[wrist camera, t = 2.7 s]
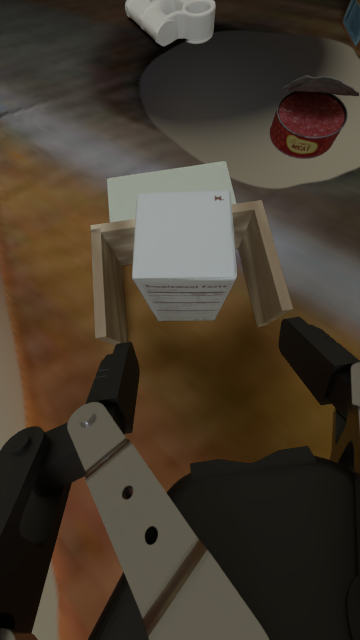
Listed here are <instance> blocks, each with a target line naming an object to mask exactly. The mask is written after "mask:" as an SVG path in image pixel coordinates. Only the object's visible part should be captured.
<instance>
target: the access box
mask: <svg viewBox="0 0 360 640" xmlns="http://www.w3.org/2000/svg"><path fill="white" fill-rule="evenodd" d="M232 216H233V227H234V244H235V249H239V254H240V258H241V262H242V266H243V270H244V274H245V279H246V283H247V287H248V291H249V295H250V299H251V304H252V308H253V312H254V316H255V320H256V324H257V327H261V326H266V325H268V324H269V323H271V322H273V321H274V320H276V319H278V318H279V317H281V316H282V315H284V314H286V313H287V312H289V311H291V310H292V309H293V306H292V303H291V300H290V296H289V293H288V289H287V286H286V282H285V279H284V276H283V272H282V269H281V265H280V262H279V258H278V255H277V252H276V248H275V245H274V241H273V238H272V234H271V231H270V227H269V224H268V221H267V217H266V214H265V210H264V207H263V203H262V200H259V201H252V202H246V203H239V204H232ZM134 234H135V219H131V220H124V221H117V222H110V223H103V224H97V225H91V243H92V267H93V292H94V317H95V338H97V339H99V340H102V341H105V342H107V343H110V344H113V345H115V346H116V344H119V343H125V342H128V339H127V326H126V314H125V301H124V289H123V276H122V266H124V265H131V264H133V250H134Z"/></svg>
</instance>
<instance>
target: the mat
mask: <svg viewBox="0 0 360 640" xmlns="http://www.w3.org/2000/svg"><path fill="white" fill-rule="evenodd" d="M107 185H108V200H109V215H110V222H117V221H124V220H131V219H135V217H136V203H137V195H138V194H141V193H161V192H188V191H231V202H232V204H236V200H235V196H234V192H233V188H232V184H231V181H230V177H229V173H228V169H227V165H226V161H223V162H216V163H209V164H202V165H196V166H189V167H182V168H175V169H168V170H162V171H155V172H148V173H141V174H135V175H128V176H121V177H114V178H108V179H107Z"/></svg>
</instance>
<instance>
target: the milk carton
mask: <svg viewBox="0 0 360 640" xmlns="http://www.w3.org/2000/svg"><path fill="white" fill-rule="evenodd" d="M341 25H342V27H343V29H344V30H345V32H346V34H347V36H348V37H349V39H350V41H351V43H352V44H353V46H354V48H355V50H356V51H357V53H358V55H359V57H360V0H350V3H349V5H348V7H347V9H346V12H345V14H344V16H343V19H342V21H341Z"/></svg>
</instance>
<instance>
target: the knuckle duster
mask: <svg viewBox="0 0 360 640" xmlns="http://www.w3.org/2000/svg"><path fill="white" fill-rule="evenodd" d="M125 10H126V13H127V16H128V17H130V18H132V19H133V20H134V21H135V22H136V23H137V24H138V25H139V26H140V27H141V29H143V30H144V31H146V32H147V33H148V34H149V35H150V36H151V37H152V38H153V39H154V40H155V42H156V43H158V44H160V45H161V46H165V45H168V44H170V43H172V42H173V41H174V40H176V39H179V38H186V39H188V41H186V42H188V43H192V44H200V43H204V42H206V41H208V40H209V39H210V38H211V37H212V35H213V31H214V18H215V1H213V0H127V1H126V4H125Z"/></svg>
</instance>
